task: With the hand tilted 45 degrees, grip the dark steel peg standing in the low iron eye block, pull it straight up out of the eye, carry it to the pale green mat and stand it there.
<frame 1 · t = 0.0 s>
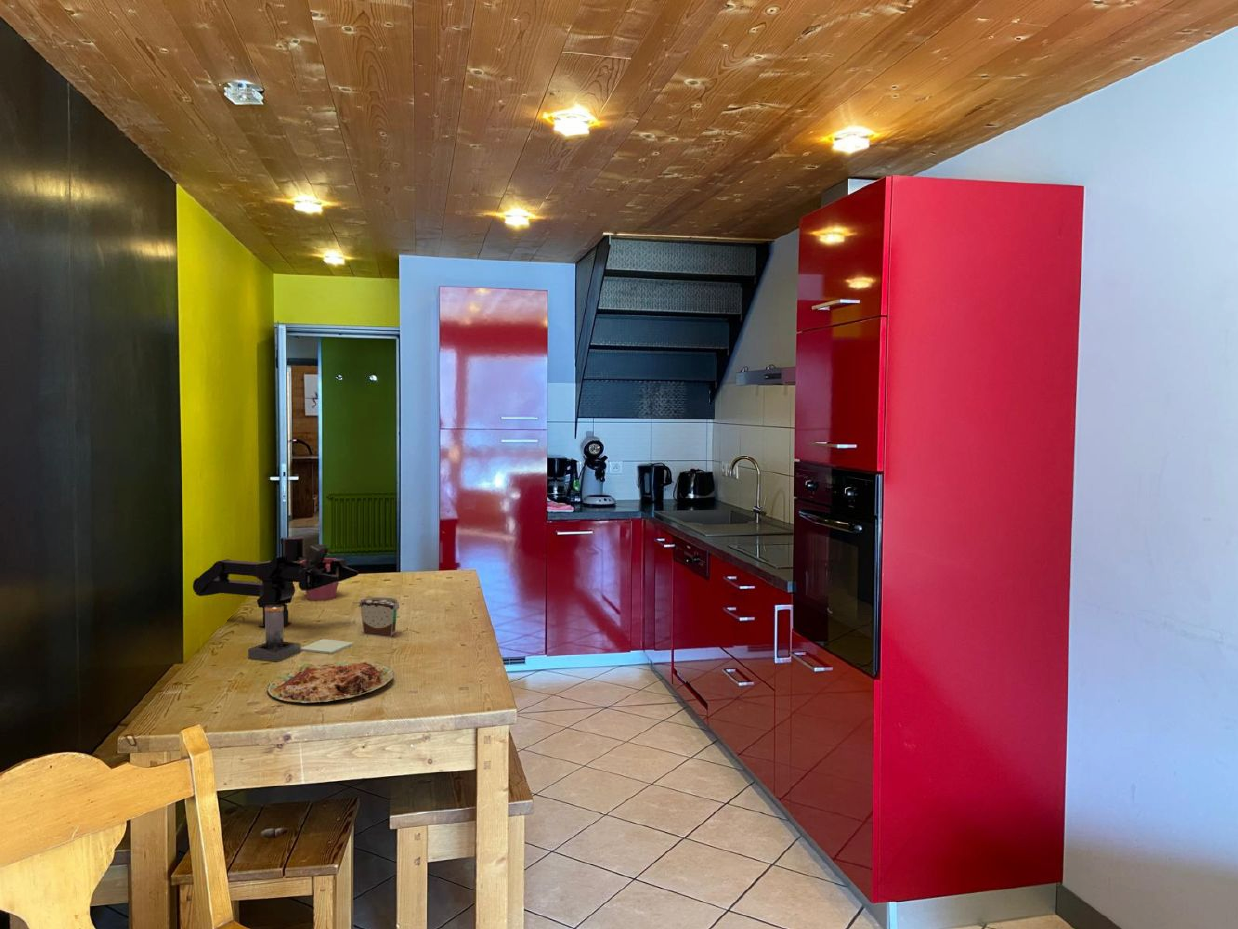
hand: (348, 576, 245), 17 cm above the table, tool horizontal, fingers open, 9 cm apart
steel peg: (274, 631, 222), in the eye block
plant pot: (321, 598, 292), on the table
food container: (383, 634, 246), on the table
rest pad: (327, 647, 231), on the table
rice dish: (332, 688, 199), on the table
eye block: (274, 655, 223), on the table
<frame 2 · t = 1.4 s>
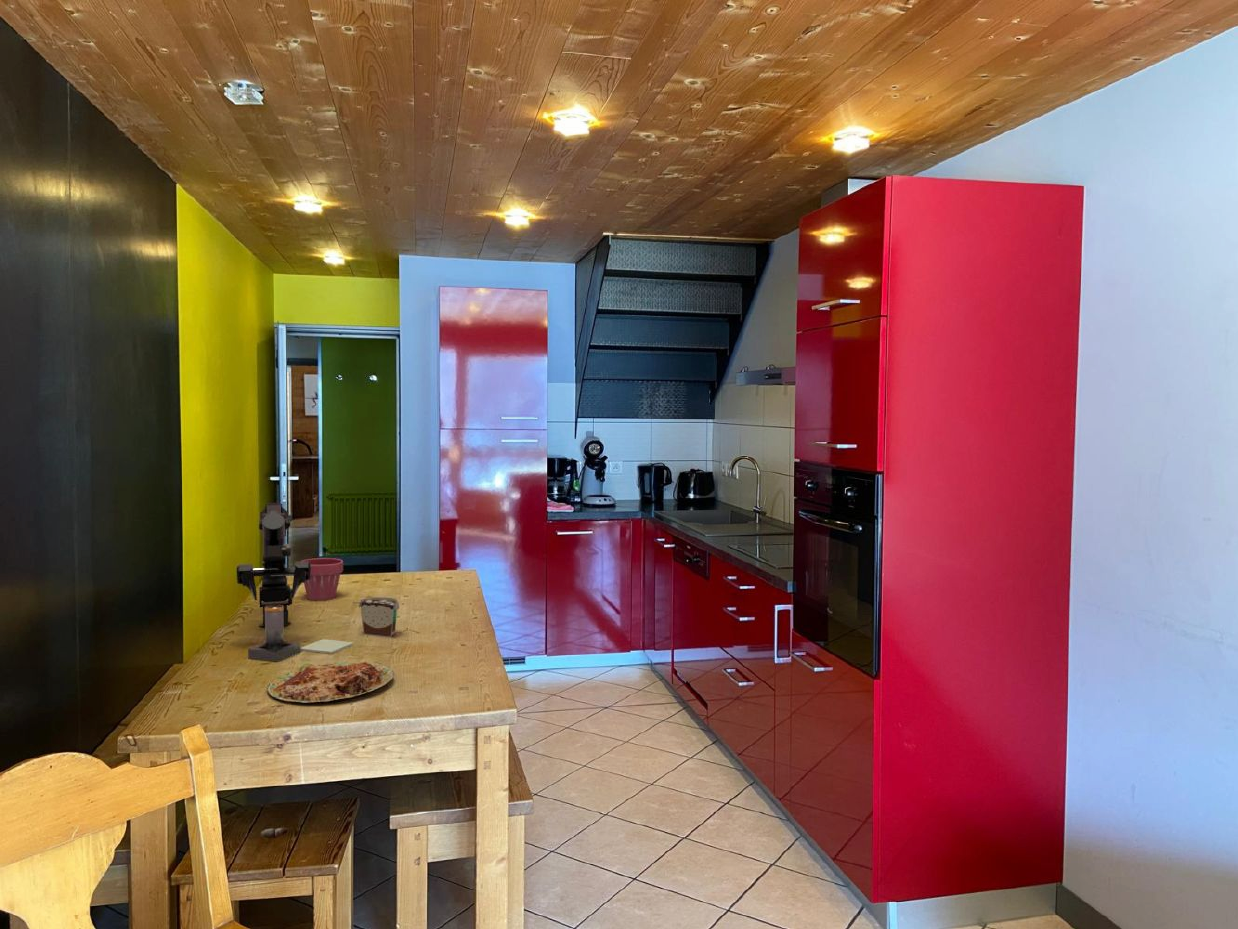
hand: (274, 598, 229), 13 cm above the table, tool tilted 45°, fingers open, 9 cm apart
nothing on the table moved.
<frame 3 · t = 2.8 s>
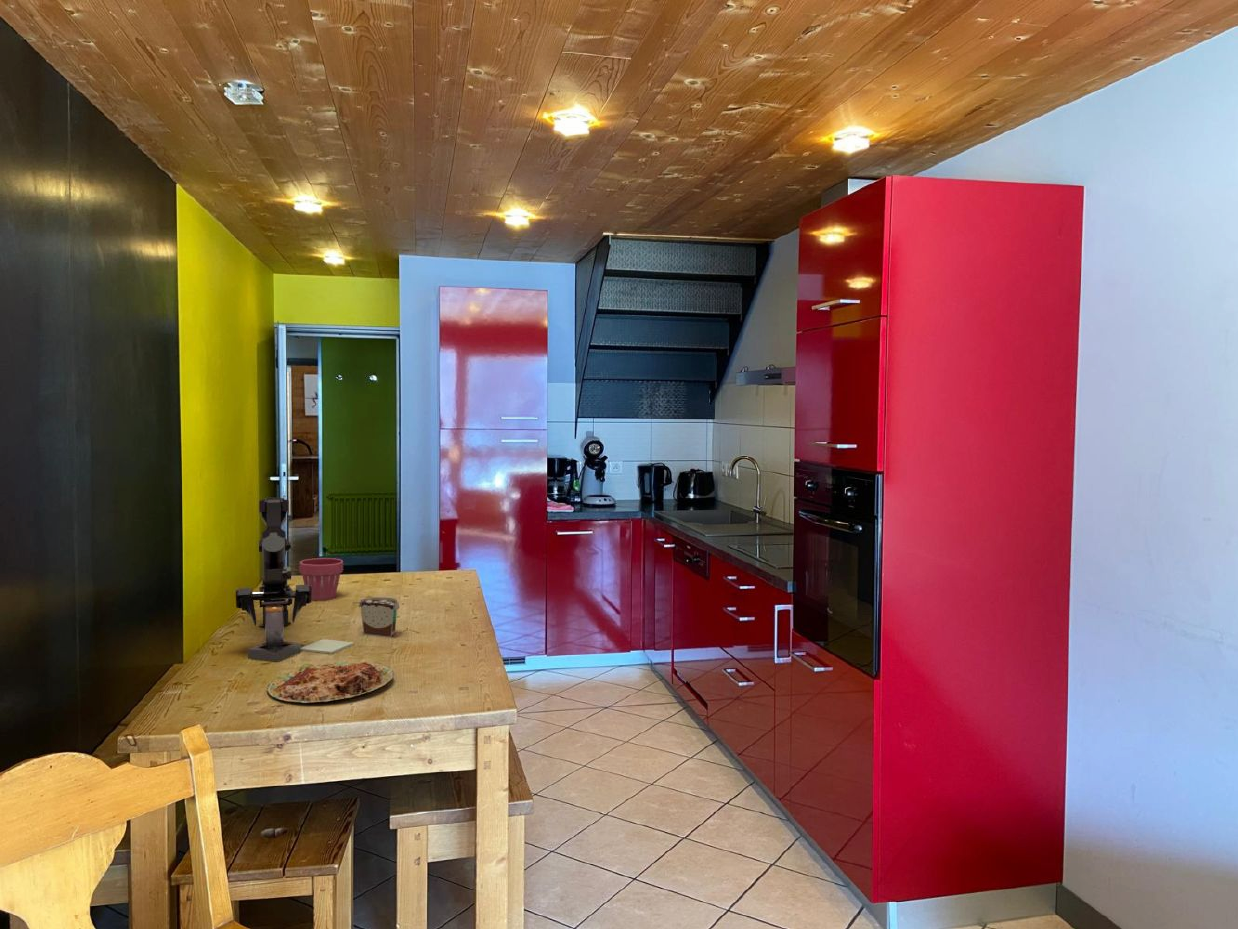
hand: (274, 623, 223), 8 cm above the table, tool tilted 45°, fingers open, 9 cm apart
nothing on the table moved.
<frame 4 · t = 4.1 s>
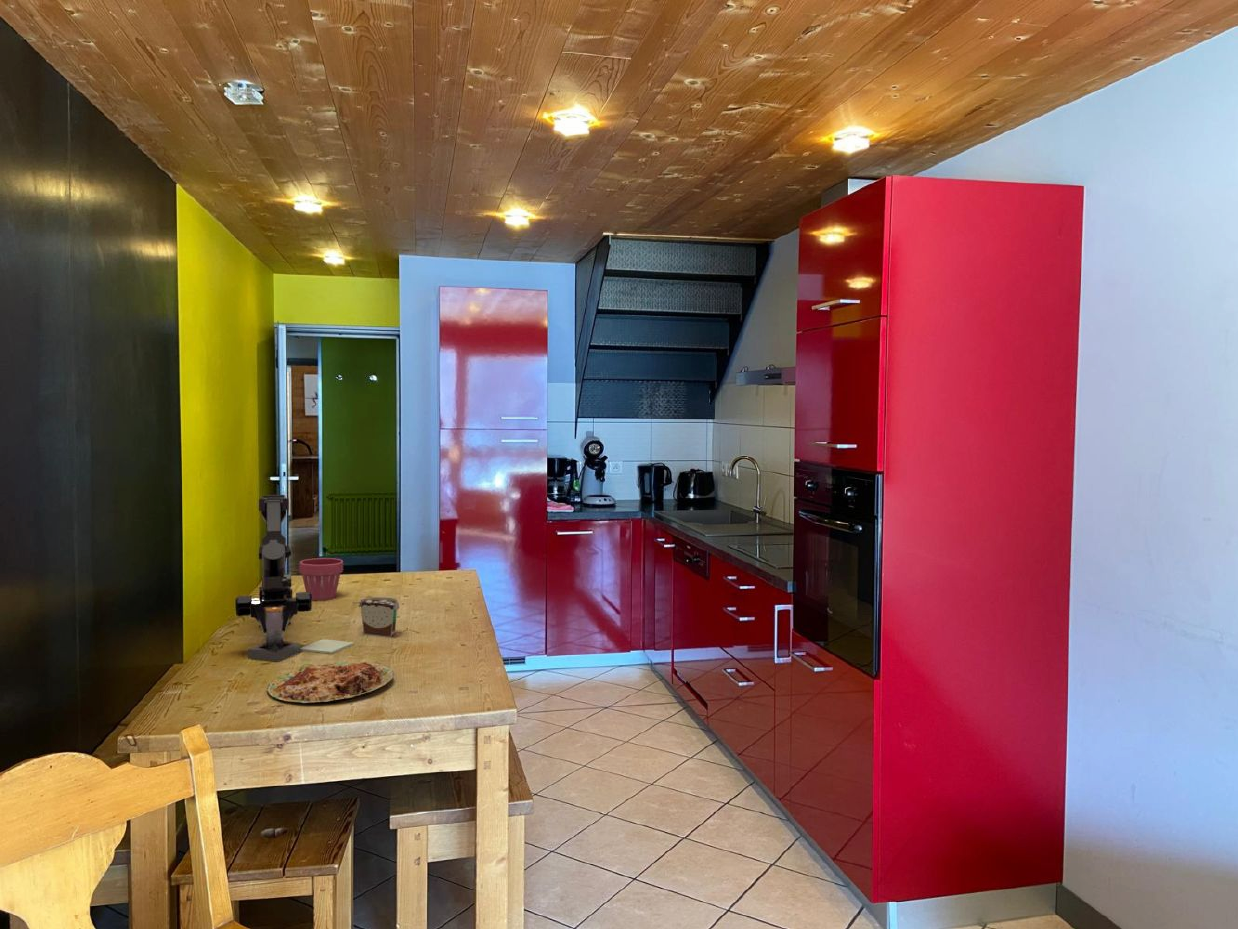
hand: (274, 631, 222), 7 cm above the table, tool tilted 45°, fingers closed on steel peg, 4 cm apart
steel peg: (274, 631, 222), in the eye block, touching gripper
everything else where it was.
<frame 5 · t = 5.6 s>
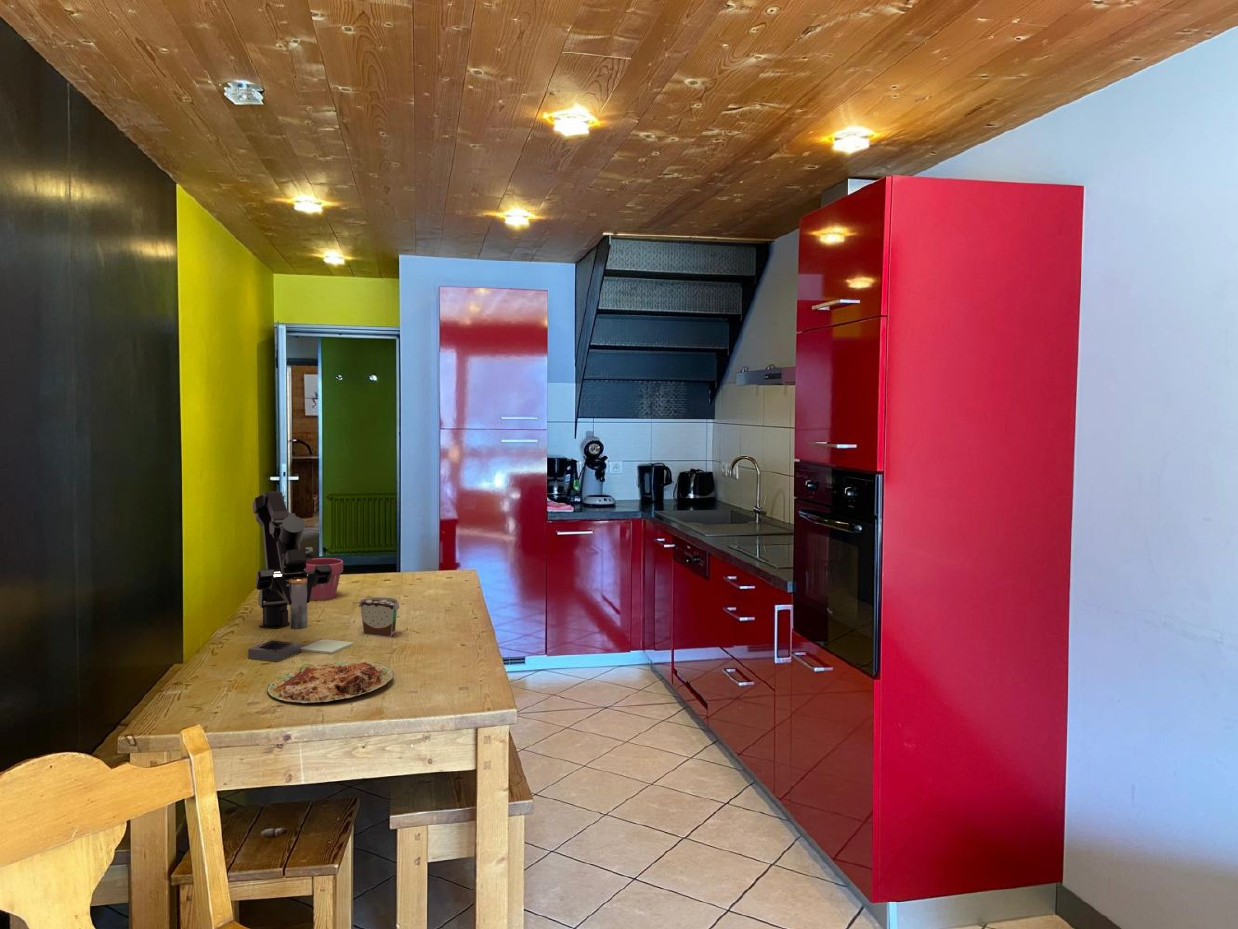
hand: (299, 603, 224), 13 cm above the table, tool tilted 45°, fingers closed on steel peg, 4 cm apart
steel peg: (298, 603, 225), point 13 cm above the table, touching gripper
everything else where it was.
when the fingers open (8 cm above the table, at t = 7.3 s): steel peg drops 1 cm, resting on rest pad.
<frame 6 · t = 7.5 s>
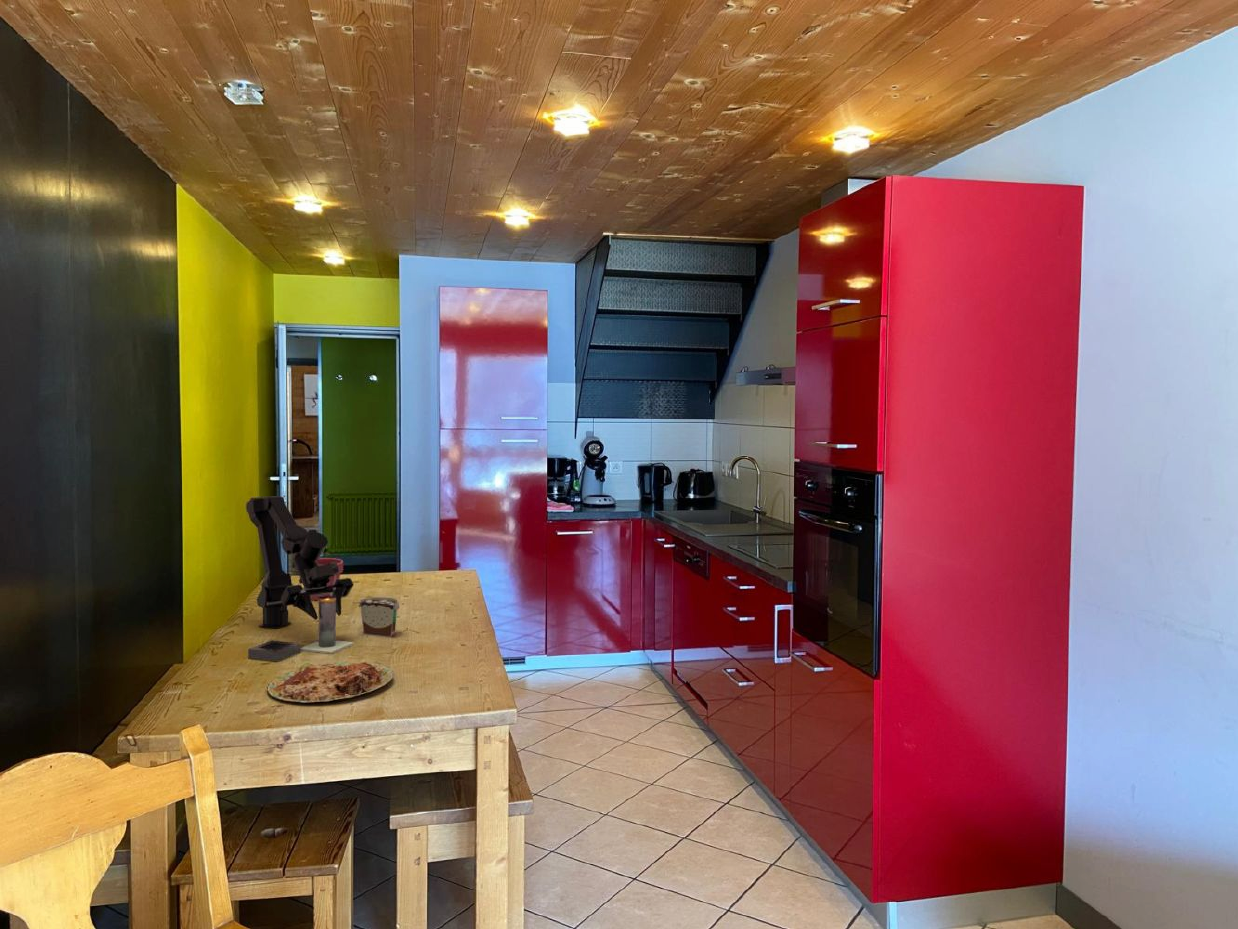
hand: (328, 616, 230), 9 cm above the table, tool tilted 45°, fingers open, 6 cm apart
steel peg: (327, 621, 230), on the rest pad, point 7 cm above the table
everything else where it was.
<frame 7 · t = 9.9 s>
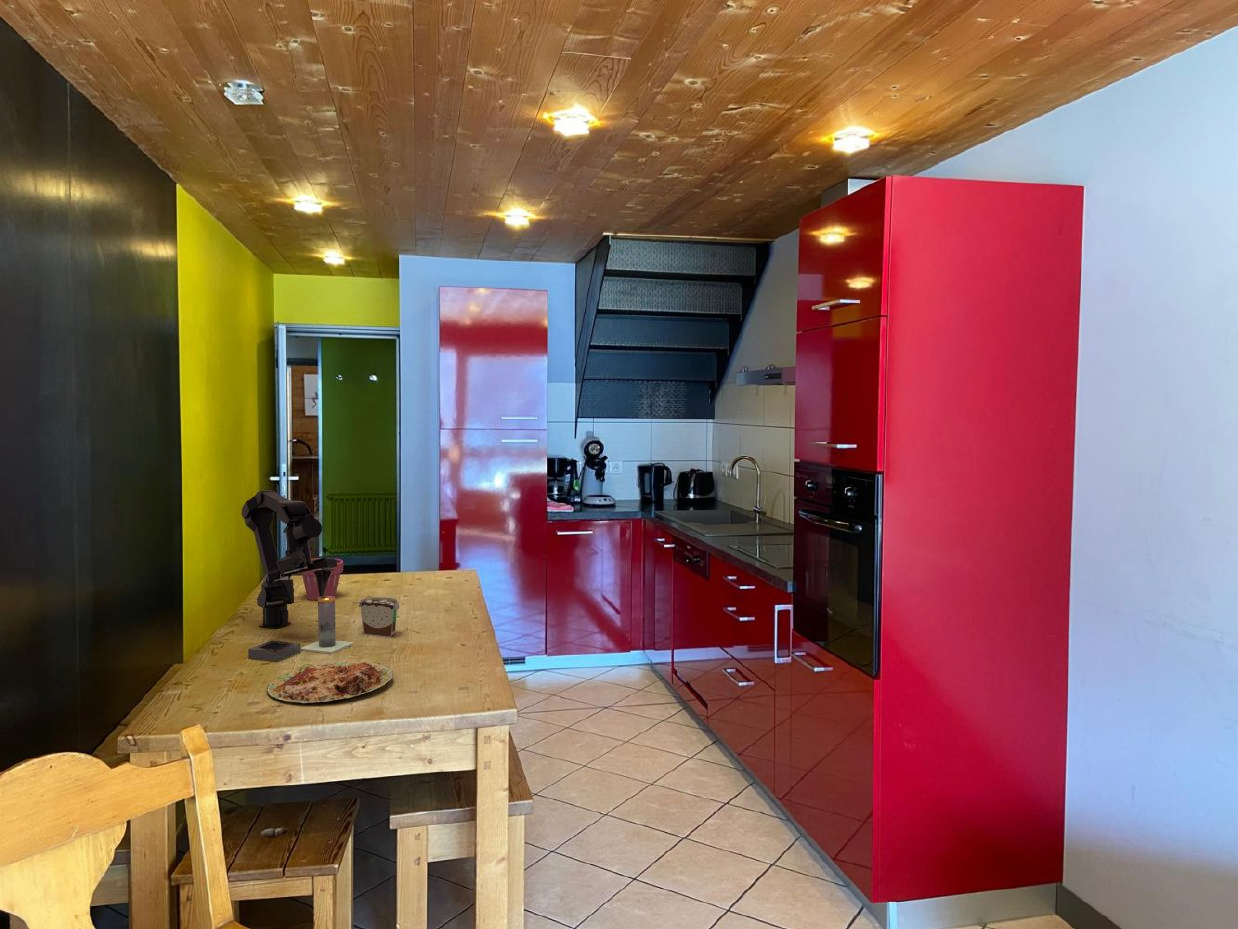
hand: (306, 600, 238), 11 cm above the table, tool tilted 20°, fingers open, 9 cm apart
nothing on the table moved.
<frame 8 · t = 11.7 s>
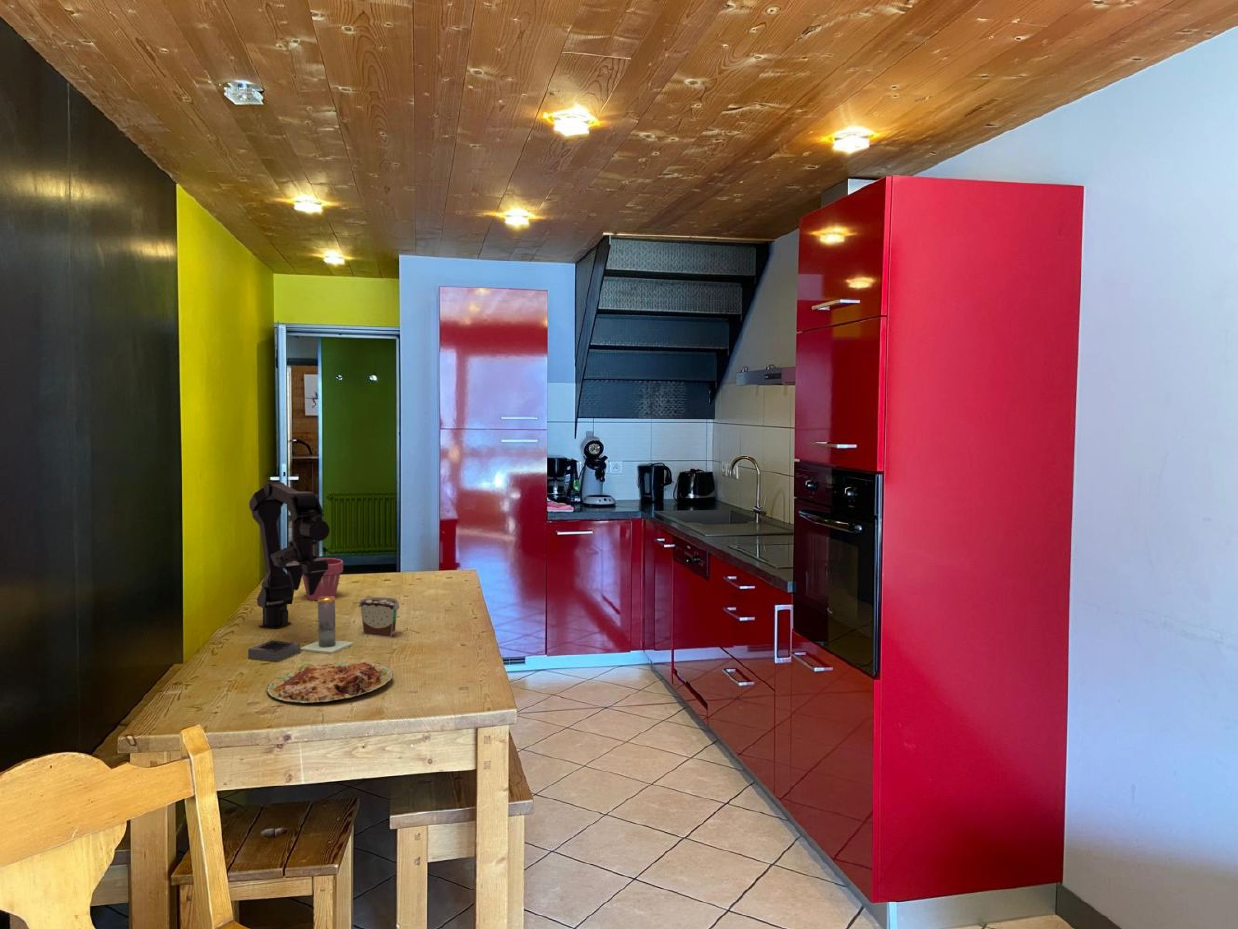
hand: (303, 592, 239), 13 cm above the table, tool pointing down, fingers open, 9 cm apart
nothing on the table moved.
at the end: steel peg inside the target area on the rest pad (0.0 cm from its centre), point 7.1 cm above the rest pad's base; steel peg moved 13.6 cm from its start; the gripper is holding nothing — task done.
